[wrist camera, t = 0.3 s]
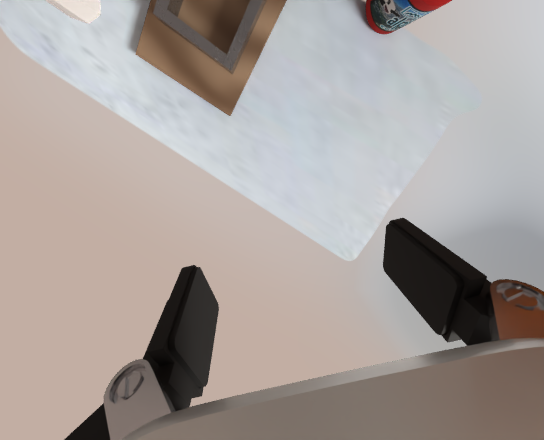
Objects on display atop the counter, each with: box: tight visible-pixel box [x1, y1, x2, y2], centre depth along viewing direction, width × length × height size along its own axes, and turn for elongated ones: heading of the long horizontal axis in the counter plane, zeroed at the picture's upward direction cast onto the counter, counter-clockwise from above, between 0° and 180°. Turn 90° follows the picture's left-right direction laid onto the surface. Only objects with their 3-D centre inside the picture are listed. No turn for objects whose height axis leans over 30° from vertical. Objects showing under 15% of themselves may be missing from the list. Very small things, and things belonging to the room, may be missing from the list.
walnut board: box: [136, 0, 287, 116], centre depth 27 cm, size 20×14×2 cm
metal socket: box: [153, 0, 267, 74], centre depth 25 cm, size 10×10×4 cm
